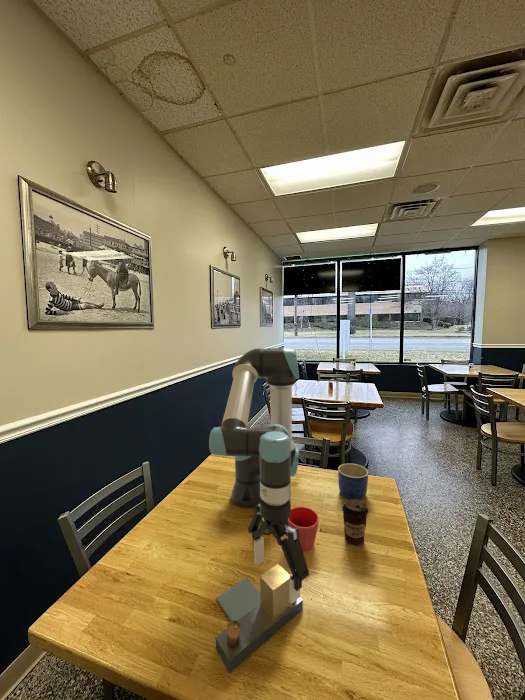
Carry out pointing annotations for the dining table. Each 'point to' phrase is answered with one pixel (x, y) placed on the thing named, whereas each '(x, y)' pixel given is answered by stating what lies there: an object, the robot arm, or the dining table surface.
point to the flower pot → (304, 525)
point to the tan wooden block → (275, 592)
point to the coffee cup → (354, 522)
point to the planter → (353, 481)
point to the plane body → (251, 634)
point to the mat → (239, 599)
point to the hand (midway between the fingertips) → (275, 579)
